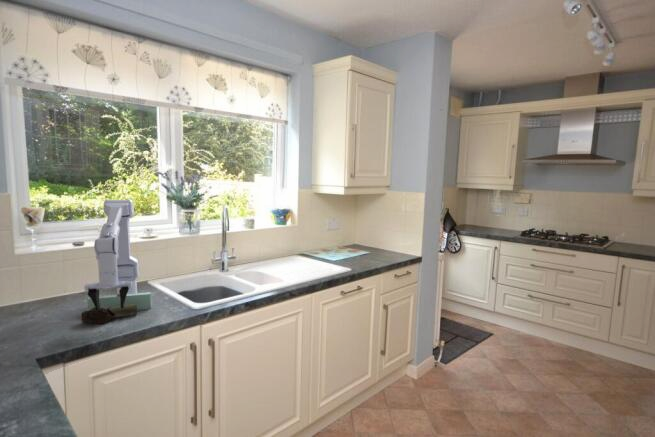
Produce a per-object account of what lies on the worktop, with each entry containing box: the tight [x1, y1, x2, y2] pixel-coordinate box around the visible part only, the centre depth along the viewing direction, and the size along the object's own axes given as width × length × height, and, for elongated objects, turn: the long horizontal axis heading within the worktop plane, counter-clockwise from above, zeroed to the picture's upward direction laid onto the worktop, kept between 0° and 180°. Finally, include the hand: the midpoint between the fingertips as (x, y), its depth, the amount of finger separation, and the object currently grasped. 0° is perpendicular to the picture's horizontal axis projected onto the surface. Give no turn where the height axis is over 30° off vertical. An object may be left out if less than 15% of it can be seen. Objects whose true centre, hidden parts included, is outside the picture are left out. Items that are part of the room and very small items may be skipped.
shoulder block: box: [86, 291, 153, 311], centre depth 148 cm, size 3×22×7 cm, turn 108°
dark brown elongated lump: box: [80, 304, 138, 325], centre depth 139 cm, size 18×7×6 cm, turn 126°
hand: (110, 308), depth 133 cm, fingers open, 7 cm apart
